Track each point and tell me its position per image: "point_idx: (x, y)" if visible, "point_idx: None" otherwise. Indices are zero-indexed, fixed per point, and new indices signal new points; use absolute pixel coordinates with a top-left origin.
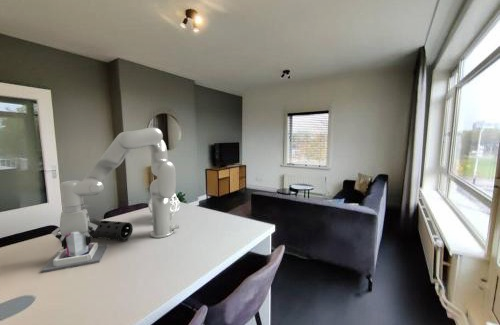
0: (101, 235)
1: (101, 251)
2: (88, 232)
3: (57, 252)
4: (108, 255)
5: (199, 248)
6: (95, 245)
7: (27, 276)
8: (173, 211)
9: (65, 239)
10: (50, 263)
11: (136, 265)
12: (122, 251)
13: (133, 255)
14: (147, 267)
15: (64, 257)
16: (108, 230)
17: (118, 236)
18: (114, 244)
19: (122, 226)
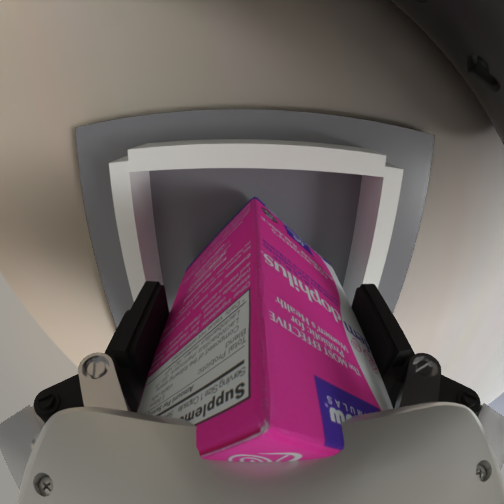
0: (411, 12)
1: (401, 250)
2: (413, 396)
3: (76, 130)
4: (419, 284)
5: None
6: (389, 233)
7: (91, 336)
8: None
9: (139, 378)
10: (120, 293)
11: (453, 375)
12: (472, 264)
13: (480, 317)
14: (463, 384)
15: (163, 242)
16: None
17: None
18: (458, 130)
19: None
